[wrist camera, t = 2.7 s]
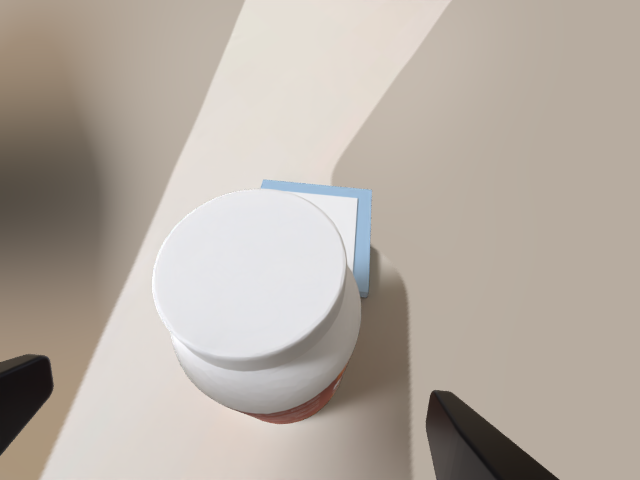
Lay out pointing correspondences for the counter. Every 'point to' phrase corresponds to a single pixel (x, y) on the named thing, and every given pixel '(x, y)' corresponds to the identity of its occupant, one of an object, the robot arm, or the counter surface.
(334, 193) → the coaster
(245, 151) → the counter surface
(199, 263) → the pill bottle
